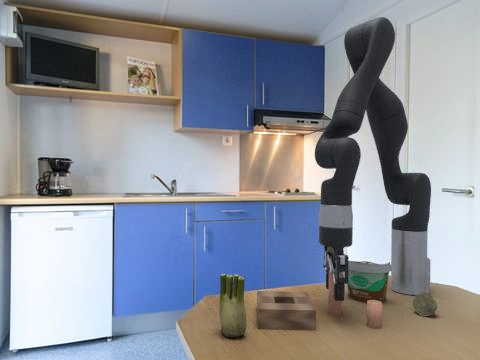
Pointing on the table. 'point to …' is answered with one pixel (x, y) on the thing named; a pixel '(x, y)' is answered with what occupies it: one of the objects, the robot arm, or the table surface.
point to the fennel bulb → (232, 305)
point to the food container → (367, 280)
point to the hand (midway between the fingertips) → (334, 294)
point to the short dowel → (374, 314)
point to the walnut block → (285, 310)
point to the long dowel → (333, 305)
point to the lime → (425, 304)
